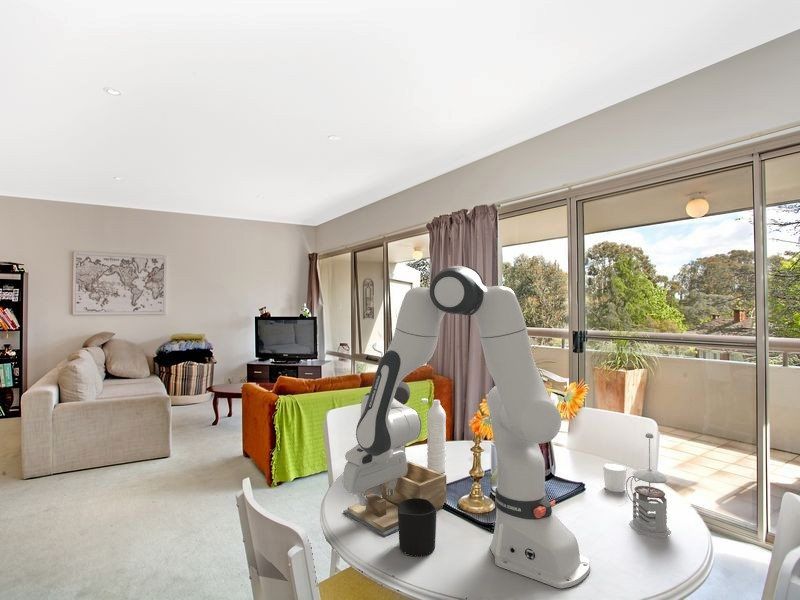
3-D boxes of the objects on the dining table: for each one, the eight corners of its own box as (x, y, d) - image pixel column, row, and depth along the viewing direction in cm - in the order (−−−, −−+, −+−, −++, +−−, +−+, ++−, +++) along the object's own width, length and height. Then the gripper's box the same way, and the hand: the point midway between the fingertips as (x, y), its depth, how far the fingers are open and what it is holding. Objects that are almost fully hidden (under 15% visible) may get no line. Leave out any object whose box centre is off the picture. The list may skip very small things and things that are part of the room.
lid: (413, 518, 124) (413, 499, 124) (383, 532, 117) (384, 511, 117) (376, 500, 135) (376, 482, 135) (347, 511, 128) (347, 492, 128)
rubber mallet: (410, 471, 160) (410, 386, 160) (388, 471, 161) (388, 385, 161) (410, 459, 173) (410, 379, 173) (390, 458, 173) (390, 379, 173)
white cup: (622, 484, 148) (622, 463, 148) (629, 493, 142) (629, 471, 142) (600, 483, 149) (600, 462, 150) (606, 492, 143) (606, 469, 143)
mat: (418, 521, 124) (418, 519, 124) (385, 536, 115) (385, 534, 115) (376, 500, 137) (376, 498, 137) (343, 512, 129) (343, 510, 129)
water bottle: (447, 468, 163) (447, 398, 163) (444, 475, 157) (443, 402, 157) (423, 466, 166) (423, 397, 166) (419, 472, 159) (419, 400, 159)
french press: (652, 540, 114) (652, 440, 114) (615, 520, 124) (614, 428, 125) (680, 533, 117) (680, 436, 117) (641, 513, 128) (641, 424, 128)
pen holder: (441, 541, 113) (441, 501, 113) (429, 561, 104) (429, 518, 105) (406, 534, 117) (406, 495, 117) (391, 553, 108) (391, 511, 108)
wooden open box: (446, 506, 133) (446, 475, 133) (419, 518, 125) (419, 485, 125) (408, 489, 145) (408, 461, 145) (382, 499, 137) (382, 469, 137)
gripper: (397, 439, 135) (397, 486, 135) (339, 455, 121) (340, 507, 121) (412, 443, 130) (412, 492, 130) (354, 461, 116) (354, 515, 116)
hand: (377, 499), depth 125 cm, fingers open, 8 cm apart
